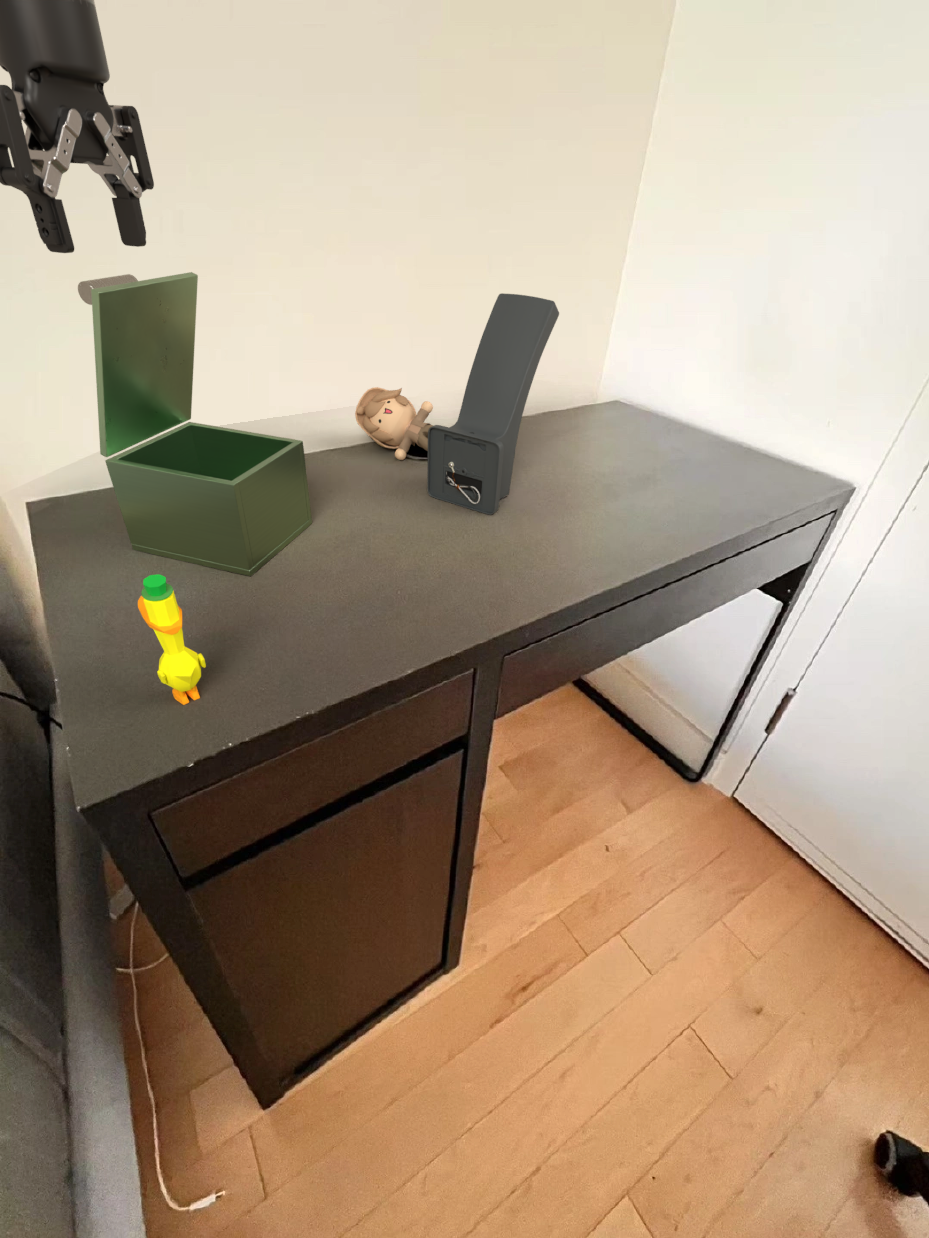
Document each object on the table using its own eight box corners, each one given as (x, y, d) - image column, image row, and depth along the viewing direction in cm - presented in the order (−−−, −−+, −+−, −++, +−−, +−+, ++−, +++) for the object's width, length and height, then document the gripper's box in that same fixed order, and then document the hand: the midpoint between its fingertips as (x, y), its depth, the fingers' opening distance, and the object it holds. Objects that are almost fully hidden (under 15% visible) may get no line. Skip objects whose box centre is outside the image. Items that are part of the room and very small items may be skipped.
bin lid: (198, 275, 64) (149, 251, 65) (98, 292, 54) (41, 264, 54) (191, 419, 75) (149, 398, 75) (106, 457, 64) (58, 434, 64)
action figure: (407, 456, 89) (339, 425, 96) (442, 487, 98) (378, 456, 105) (441, 394, 88) (371, 368, 95) (473, 431, 98) (407, 405, 105)
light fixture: (548, 476, 94) (571, 299, 79) (492, 518, 82) (508, 317, 67) (486, 459, 98) (498, 288, 84) (425, 497, 86) (426, 304, 72)
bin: (312, 523, 78) (303, 440, 72) (250, 576, 67) (233, 484, 61) (207, 502, 81) (189, 421, 75) (132, 550, 71) (104, 460, 64)
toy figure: (150, 682, 53) (109, 563, 46) (191, 665, 55) (158, 548, 48) (181, 725, 49) (141, 603, 42) (224, 706, 51) (193, 585, 44)
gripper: (72, 16, 52) (123, 241, 61) (-101, -36, 40) (-5, 250, 50) (147, 16, 50) (188, 248, 59) (-11, -38, 39) (71, 258, 48)
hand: (100, 249), depth 54 cm, fingers open, 8 cm apart
